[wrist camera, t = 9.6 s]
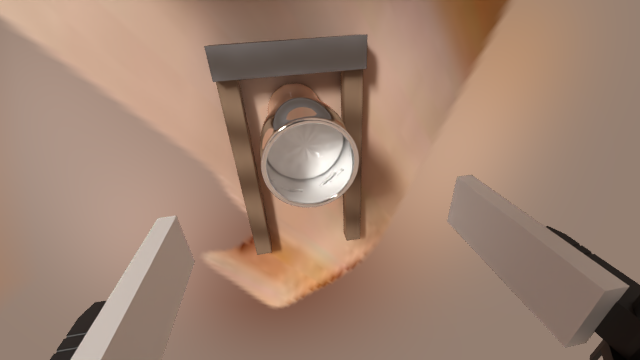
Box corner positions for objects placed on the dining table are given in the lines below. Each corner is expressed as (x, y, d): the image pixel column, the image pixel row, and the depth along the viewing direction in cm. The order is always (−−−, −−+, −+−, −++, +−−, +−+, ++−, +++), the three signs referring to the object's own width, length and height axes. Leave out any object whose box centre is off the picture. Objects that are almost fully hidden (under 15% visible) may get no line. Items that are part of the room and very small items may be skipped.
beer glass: (335, 99, 31) (382, 147, 18) (304, 149, 33) (326, 223, 20) (282, 65, 28) (291, 92, 15) (252, 121, 30) (238, 186, 17)
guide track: (211, 45, 26) (204, 46, 24) (358, 34, 28) (367, 34, 25) (257, 245, 39) (256, 261, 36) (356, 230, 41) (362, 244, 38)
